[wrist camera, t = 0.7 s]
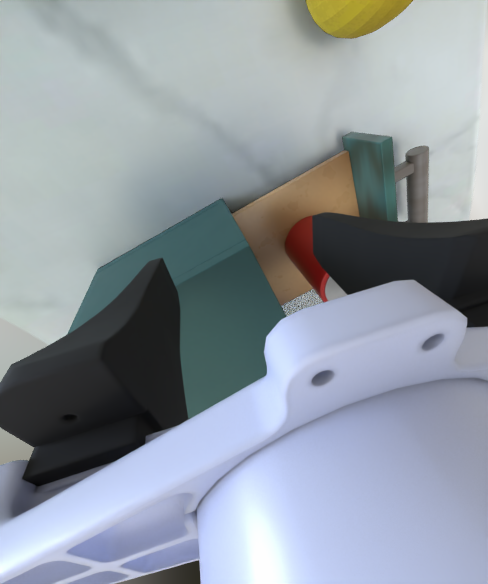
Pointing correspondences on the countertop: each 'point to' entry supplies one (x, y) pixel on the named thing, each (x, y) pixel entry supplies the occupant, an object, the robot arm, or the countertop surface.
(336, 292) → the can
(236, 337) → the teal open box
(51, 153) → the countertop surface
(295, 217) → the handled drawer
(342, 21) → the lemon
